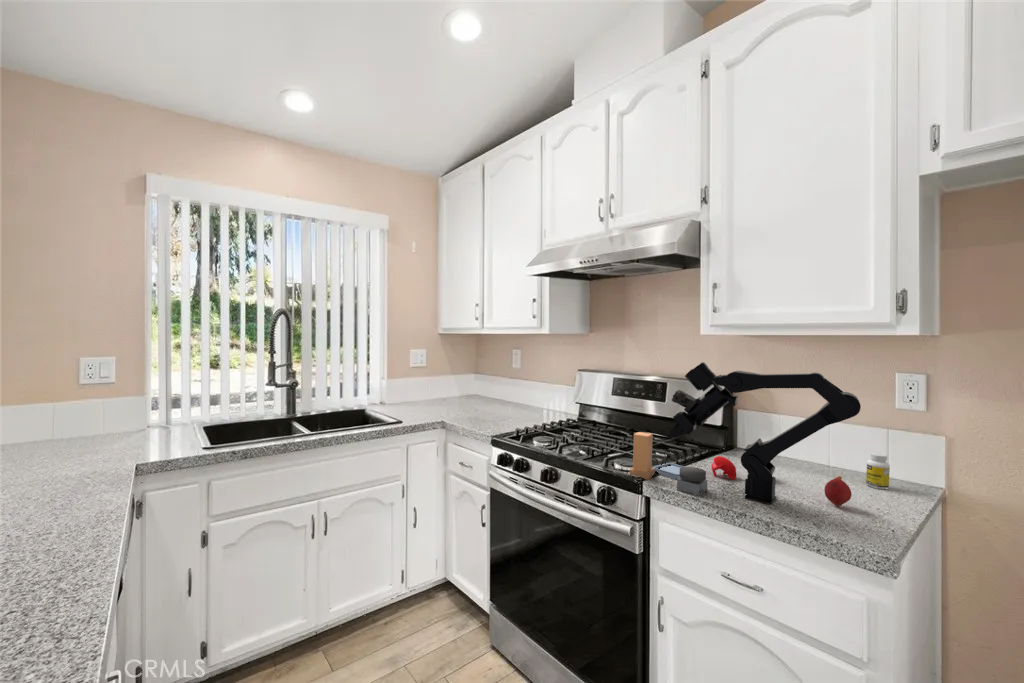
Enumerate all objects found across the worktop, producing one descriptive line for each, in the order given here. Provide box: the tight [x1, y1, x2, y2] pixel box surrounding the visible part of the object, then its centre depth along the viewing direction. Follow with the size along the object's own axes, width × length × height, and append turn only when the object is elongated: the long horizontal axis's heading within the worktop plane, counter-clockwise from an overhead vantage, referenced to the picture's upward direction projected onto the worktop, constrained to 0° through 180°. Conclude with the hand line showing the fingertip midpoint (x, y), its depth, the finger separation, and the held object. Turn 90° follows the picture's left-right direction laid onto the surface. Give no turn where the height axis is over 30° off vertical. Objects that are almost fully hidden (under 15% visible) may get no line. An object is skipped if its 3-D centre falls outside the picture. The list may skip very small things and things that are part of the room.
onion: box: [823, 475, 852, 507], centre depth 123 cm, size 6×6×8 cm
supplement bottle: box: [865, 452, 891, 489], centre depth 139 cm, size 5×5×10 cm
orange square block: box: [628, 431, 656, 481], centre depth 146 cm, size 6×6×13 cm
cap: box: [711, 455, 737, 481], centre depth 146 cm, size 8×6×6 cm
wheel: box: [679, 466, 707, 482], centre depth 133 cm, size 7×7×5 cm
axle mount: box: [676, 478, 709, 496], centre depth 133 cm, size 6×6×3 cm
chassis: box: [652, 462, 685, 480], centre depth 149 cm, size 12×10×2 cm
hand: (669, 435), depth 141 cm, fingers open, 4 cm apart
